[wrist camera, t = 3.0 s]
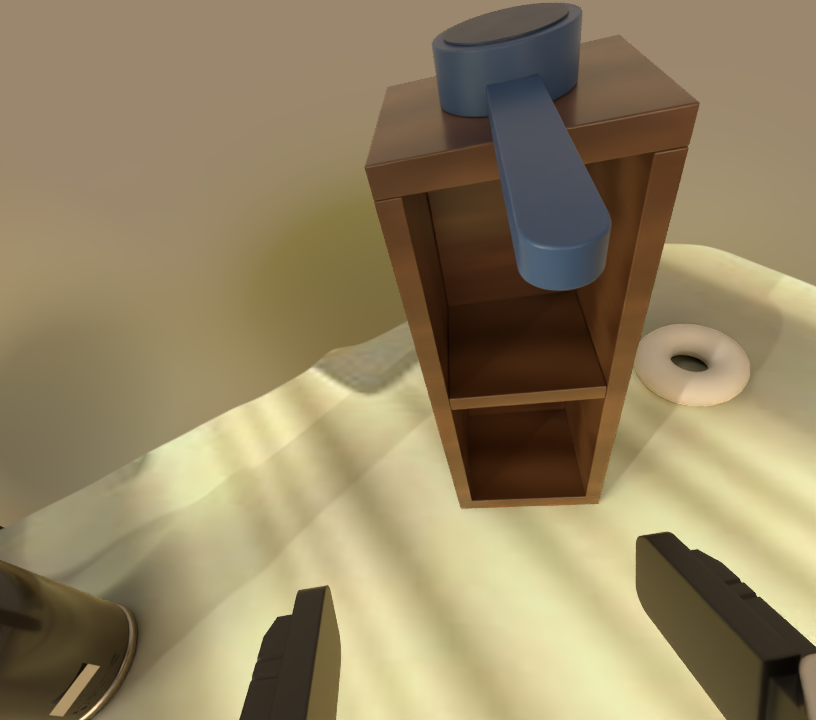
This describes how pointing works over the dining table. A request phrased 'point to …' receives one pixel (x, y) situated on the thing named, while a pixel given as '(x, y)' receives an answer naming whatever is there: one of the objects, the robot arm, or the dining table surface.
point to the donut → (691, 387)
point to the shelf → (516, 298)
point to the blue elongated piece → (530, 134)
